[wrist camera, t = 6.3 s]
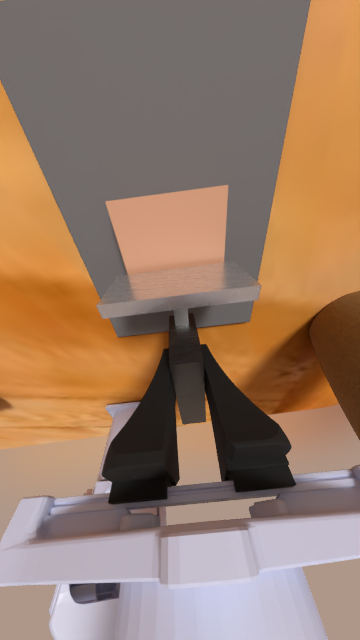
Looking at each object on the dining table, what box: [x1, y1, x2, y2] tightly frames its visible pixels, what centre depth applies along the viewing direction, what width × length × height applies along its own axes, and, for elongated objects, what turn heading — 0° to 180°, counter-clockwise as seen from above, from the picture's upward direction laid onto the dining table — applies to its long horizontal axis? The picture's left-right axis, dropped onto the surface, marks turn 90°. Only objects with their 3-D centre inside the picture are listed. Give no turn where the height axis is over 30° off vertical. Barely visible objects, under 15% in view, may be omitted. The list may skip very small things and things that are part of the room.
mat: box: [0, 0, 311, 337], centre depth 12 cm, size 18×14×1 cm
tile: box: [105, 185, 228, 274], centre depth 12 cm, size 2×7×7 cm
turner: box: [96, 261, 261, 424], centre depth 12 cm, size 12×8×5 cm
